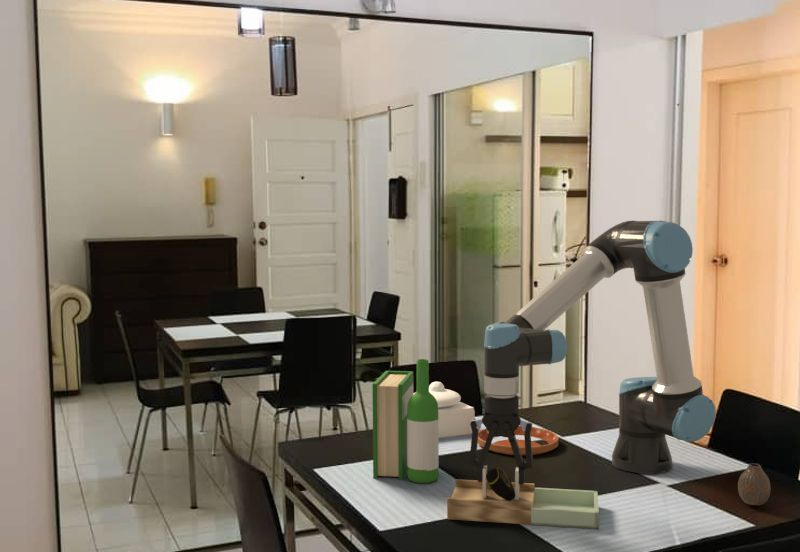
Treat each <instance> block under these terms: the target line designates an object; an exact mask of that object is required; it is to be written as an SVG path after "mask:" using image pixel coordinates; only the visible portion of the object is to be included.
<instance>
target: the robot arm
mask: <svg viewBox="0 0 800 552" xmlns="http://www.w3.org/2000/svg"><path fill="white" fill-rule="evenodd" d="M693 248H694V247H693V242H692V240H691V237H690V235H689V233H688V232H687V230H686V229H685V228H684V227H682V226H680V224H677V223H675V222H672V221H666V220H626V221H623V222H620V223H617V224H616V225H613V226H611V227H610V228H609V229H607V230H605V231H604V232H603V233H601V234H600V235H598V236H597V237H596V238H595V239H594V240H592V241H591V242H590V243H589V244H588V245H587V246H585V247H584V248H583V251H582V252H583V253H582V255H581V256H580V257H579V258H577V260H575V262H573V263H572V264H571V265H570V266H569V267H568V268H566V269H565V271H562V272H561V273H560V275H559V276H557V277H556V278H555V279H554V280H553V281H551V282H550V283H548V285H546V286H545V288H544V289H542V290H541V291H540V292H539V293H537V295H535V296H534V297H533V298H531V300H530V301H528V302H527V303H526V304H525V305H524V306H523V307H522V308H521V309H519V310H518V311H517V312H516V313H515V314H513V315H512V316H511V317H510V318H509V319H507V320H505V321H499V322H498V321H496V322H494V323H492V324H489V325H487V326H486V327H485V332H484V343H483V346H484V381H483V385H484V389H483V390H484V393H485V395H484V398H483V399H484V400H483V401H484V403H483V404H484V405H483V410H484V412H483V415H482V418H478V419H476V418H475V419H472V421H471V423H470V425H471V429H472V434H471V440H470V441H471V442H470V452H469V463H468V464H470V465H471V466H475V467H476V468H477V480H478V482H483V486H482V498H486V496H487V479H486V474H487V472H488V465H485V462H486V458H487V457H488V454H489V451H490V450H489V448H490V445H491V443H493V439H494V438H498V437H502V438H507V440H509V442H510V445H511V448H512V451H513V454H514V455H513V456H514V459H515V462H516V465H517V466H516V467H515V469H514V470H515V471H514V483H515V500H519V484H524V483H525V471H526V470H527V469H532V468H533V464H534V462H533V460H534V459H533V455H532V446H531V441H532V437H531V434H530V432H531V428H532V427H533V422H532V421H530V420H528V421H525V420H522V419H521V416H520V413H519V407H520V406H519V401H520V399H519V396H518V394H520V389H519V388H520V383H519V381H520V367H525V366H526V367H527V366H536V365H537V366H539V365H552V364H555V363H556V364H557V363H560V362H562V361H564V359H565V358H566V357H567V353H568V342H567V339H566V336H565V335H564V333H563V332H562V331H561V330H558V329H547V328H548V327H550V326H551V325H552V324H553V323H554V322H555V321H556V320H557V319H558V318H560V317H561V316H562V315H563V314H564V313H566V312H567V311H568V310H569V309H570V308H571V307H572V306H573V305H575V304H576V303H577V302H578V301H579V300H580V299H581V298H583V297H584V296H585V295H586V294H587V293H588V292H589V291H591V290H592V289H593V288H595V286H596V285H597V284H599V283H600V282H601V281H603V279H604V278H605V279H609V278H611V277H613V276H614V275H615V274H616V273H617V272H619V271H622V270H625V269H633V272H634V280H635V282H636V283H637V284H638V285H640V286H642V289H643V295H644V302H645V308H646V309H645V310H646V314H647V321H648V327H649V335H650V342H651V346H652V347H651V348H652V353H653V361H654V366H655V373H656V376H645V377H644V376H640V377H629V378H625V379H623V380H622V381H621V382H620V383H619V384H620V385H619V392H618V398H619V399H618V407H619V409H618V411H619V412H618V413H619V415H618V418H619V421H618V422H619V425H618V427H619V428H618V430H619V431H618V436H617V440H616V443H615V446H614V448H613V451H612V454H611V464H612V466H613V467H615V468H616V469H619V470H621V471H625V472H630V473H635V474H637V473H638V474H661V473H666V472H669V471H671V470H672V469H673V458H672V455H671V452H670V448H669V444H668V442H667V438H666V436H669V437H672V438H675V439H677V440H679V441H685V442H686V441H687V442H697V441H699V440H702V439H704V438H705V437H706V436H707V435H708V434H709V433H710V431H711V428H713V426H714V424H715V420H716V414H717V409H716V405H715V403H714V401H713V400H712V399H711V398H710V397H709V396H707V395H705V394H704V392H703V386H702V384H703V383H702V381H701V380H700V379H699V378H697V377H696V376H694V368H693V362H692V361H693V360H692V357H691V350H690V349H691V348H690V342H689V335H688V328H687V322H686V314H685V307H684V306H685V305H684V300H683V294H682V286H681V281H682V280H683V278H684V277H685V275H686V268H687V267H688V265H689V264H690V262H691V260H690V259H691V258H692V257H693V250H694V249H693ZM482 425H483V426H484V427H485V429H486V428H487V430H488V431H489V434H488V437H487V440H486V443H485V446H484V447H483V448H482V452H481V454H480V457H479V459H478V458H477V453H478V445H479V444H478V434H479V431H480V429H481V428H482ZM518 426H521V427H522V431H524V432H525V433H524V436H523V437H524V440H525V450H526V455H525V461H524V458H523V455H521V452H520V449H519V446H518V443H517V440H516V439H517V438H516V435H515V433H514V431H515V430H516V429H517V428H518Z"/></svg>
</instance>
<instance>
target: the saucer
mask: <svg viewBox="0 0 800 552" xmlns="http://www.w3.org/2000/svg"><path fill="white" fill-rule="evenodd" d="M514 433H515V436H523V437H524V433H525V432H524V431H522V427H521V426H520V425H519V426H518V428H517V429H516V430H515V431H514ZM488 434H489V431H488V430H487V428H486V427H485V428H482V429H481V430H479V434H478V444H477V445H479V446H480V447H483V448H484V446H485V443H486V440H487V437H488ZM530 434H531V438H535V439H540V440H541V441H542V440H543V441H545V442H546V441H547V442H546V443H548V444H544V445H543V444H542V445H541V444H540V443H538V442H536V441H532V440H531V446H532V456H535V455H541V454H545V453H548V452H550V451H553V450H554V449H556V448H557V447H559V441H560V440H559V436H558V435H557V433H555V432H553V431H552V430H551V431H550V430H548V429H544V428H540V427H534V426H532V428H531V432H530ZM519 439H520V438H518V439H517V438H516V440H517V443H518V446H519V449H520V452H521V455H522V456H526V450H525V439H520V440H519ZM489 451H490V452H493V453H497V454H502V455H508V456H509V455H511V456H514V454H513V451H512V448H511V445H510V442H509V440H508V439H502V440H498V441H494V442H491V445H490V448H489Z"/></svg>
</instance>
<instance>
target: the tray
mask: <svg viewBox="0 0 800 552" xmlns="http://www.w3.org/2000/svg"><path fill="white" fill-rule="evenodd" d="M598 495H599V494H598V490H584V489H567V488H566V489H565V488H564V489H563V488H549V487H534V507H533V508H531V526H538V527H539V526H540V527H543V526H544V527H555V528H571V529H587V530H588V529H589V530H600V529H599V528H600V526H599V525H600V523H599V522H600V512H599V511H600V510H599V509H600V508H599V497H598Z"/></svg>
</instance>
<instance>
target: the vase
mask: <svg viewBox="0 0 800 552" xmlns="http://www.w3.org/2000/svg"><path fill="white" fill-rule="evenodd" d="M770 482H771V481H770V479H769V476H768V475H767V474H766V473H765V471H764V470H763V468H762V466H761V465H760V463H753V462H752V463H749V464H748V466H747V468H746V469H744V471H743V472H741V474H740V476H739V478H738V482H737V491H738V495H739V497H740V498H741V500H742V501H743V503H745V504H748V505H750V506H762V505H763V504H765V503H767V502H768V500H769V497H770V496H771V483H770Z"/></svg>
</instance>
